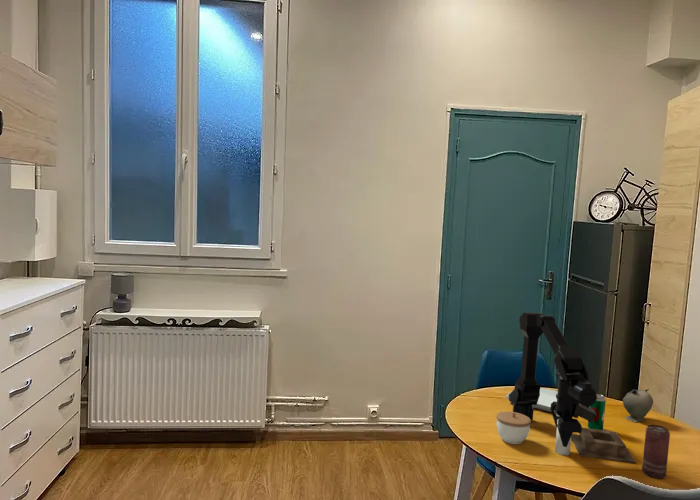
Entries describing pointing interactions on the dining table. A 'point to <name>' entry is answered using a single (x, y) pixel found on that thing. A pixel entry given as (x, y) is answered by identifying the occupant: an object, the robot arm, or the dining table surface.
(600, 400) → the soda can
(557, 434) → the cream peg
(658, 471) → the can
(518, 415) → the lidded jar
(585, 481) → the dining table surface
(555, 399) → the salad plate
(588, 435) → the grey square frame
